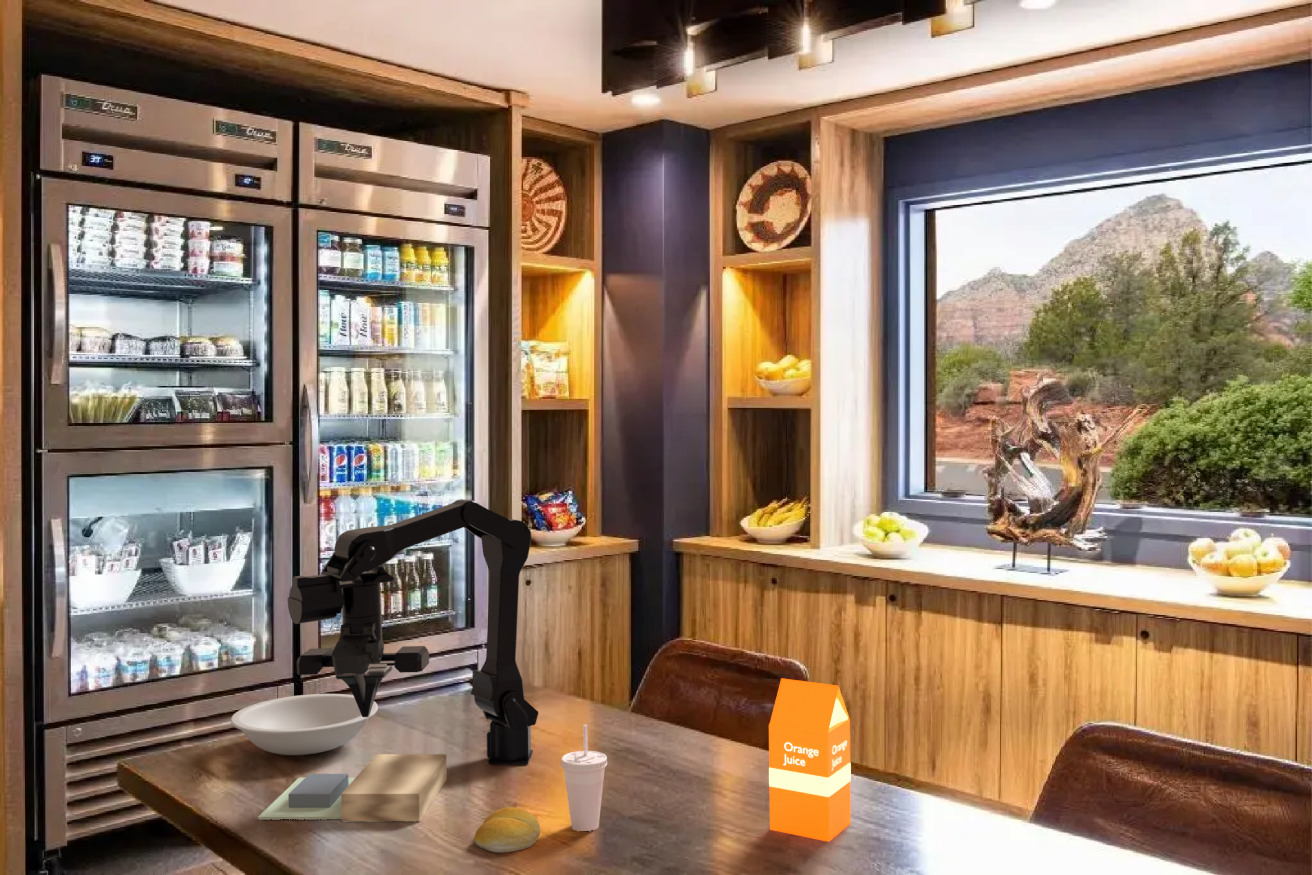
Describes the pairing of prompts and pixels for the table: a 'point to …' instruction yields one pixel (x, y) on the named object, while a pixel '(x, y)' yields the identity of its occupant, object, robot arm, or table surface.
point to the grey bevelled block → (318, 791)
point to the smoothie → (584, 785)
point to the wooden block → (394, 788)
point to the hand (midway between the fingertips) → (365, 716)
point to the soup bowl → (302, 723)
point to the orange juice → (809, 761)
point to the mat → (282, 810)
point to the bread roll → (508, 830)
